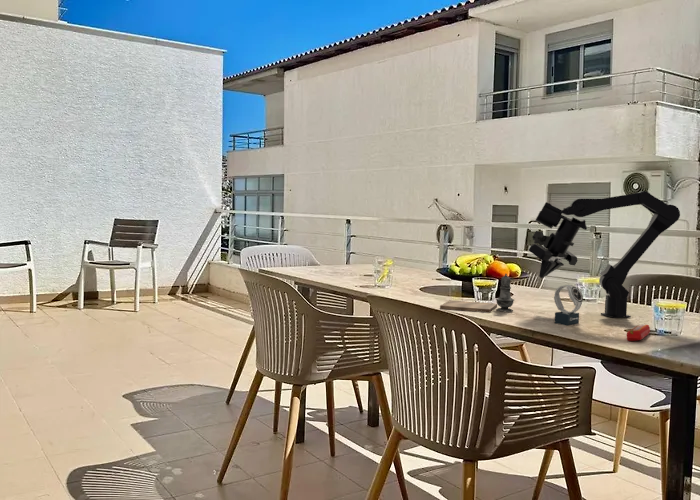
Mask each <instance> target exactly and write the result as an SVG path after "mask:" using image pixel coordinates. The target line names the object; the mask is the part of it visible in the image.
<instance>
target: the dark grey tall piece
mask: <svg viewBox="0 0 700 500" xmlns="http://www.w3.org/2000/svg"><path fill="white" fill-rule="evenodd" d="M499 289H500V293H499V297H497V298H495V300H496V304H497V307H499V308H495V310H496V311H497V312H501V313H502V312H505V313H506V312H507V313H510V312H511V313H512V312H513V311H514V310H513V309H512V308H511V307H512V306H513V305H514V301H515V299H514V298H512V297H511V289H512V287H511V277H510V276H508V275H507V273H505V275H504V276H502V277H501V278H500V286H499Z"/></svg>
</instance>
